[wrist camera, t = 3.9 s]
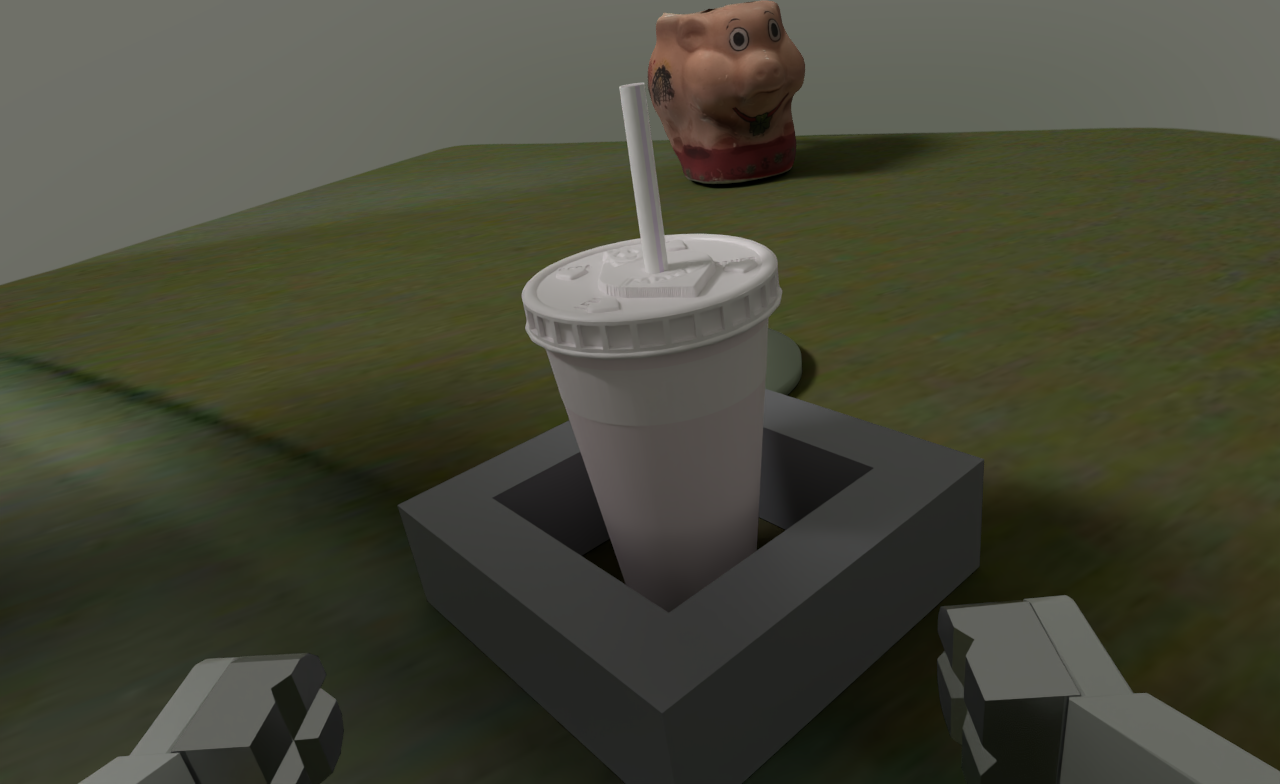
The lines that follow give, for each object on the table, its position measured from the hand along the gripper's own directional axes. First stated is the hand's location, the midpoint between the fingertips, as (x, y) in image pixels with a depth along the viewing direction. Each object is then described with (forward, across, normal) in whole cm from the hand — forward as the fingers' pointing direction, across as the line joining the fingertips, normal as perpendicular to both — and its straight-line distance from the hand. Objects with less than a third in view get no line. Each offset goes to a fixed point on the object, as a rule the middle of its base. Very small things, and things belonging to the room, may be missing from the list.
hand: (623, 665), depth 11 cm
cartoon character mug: (+69, -4, +8) cm, 69 cm away
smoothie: (+12, 0, +8) cm, 14 cm away
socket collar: (+12, 0, +8) cm, 14 cm away
